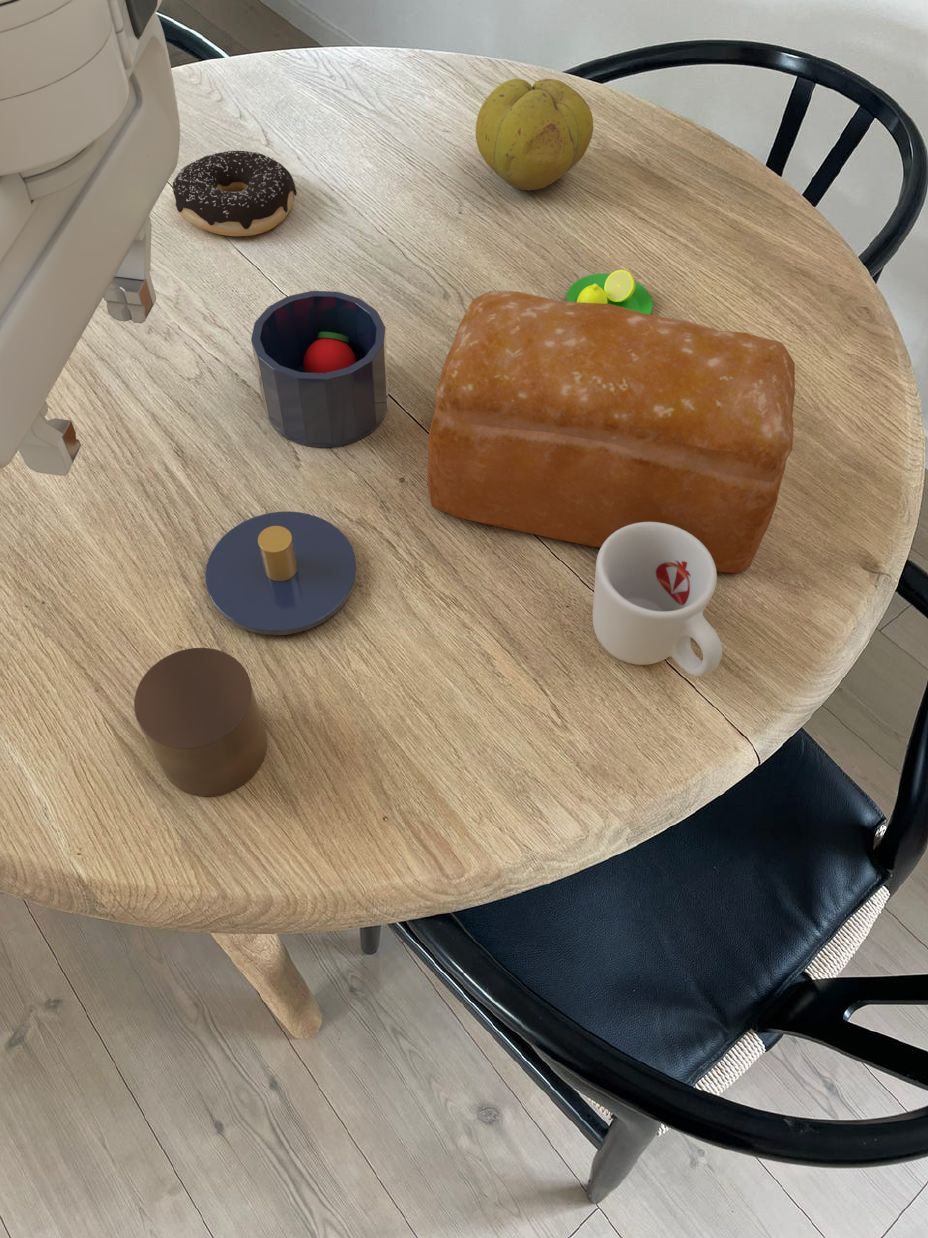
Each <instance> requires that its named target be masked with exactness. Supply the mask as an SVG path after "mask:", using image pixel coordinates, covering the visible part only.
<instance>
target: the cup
mask: <svg viewBox="0 0 928 1238" xmlns="http://www.w3.org/2000/svg"><path fill="white" fill-rule="evenodd" d="M599 548H600V549H599V551H598V553H597V556H596V557H597V558H596V562H595V575H594V587H593V588H594V590H593V603H592V625H593V630H594V633H595V636H596V639H597V640H598V642H599V643H600V645H601V646H602V647H603V649H604V650H606V652H607V653H608V654H610V655H611V656H613V657H614V658H616V659H618V660H619V661H621V662H624V663H627V664H632V665H638V666H647V665H653V664H657V663H659V662H663V661H665V660H666V659H668V658H672V659H673V660H674V661H675V662H676V663H677V664H678V666H679V667H680V668H681V669H682V670H683V671H684V672H686V673H687V674H688V675H690V676H691V677H695V678H702V677H705V676H707V675H710V673H712V672H713V671H715V669H716V668H718V666H719V664H720V663H721V661H722V659H723V644H722V641H721V638H720V637H719V635H718V633H717V632H716V630H715V629H714V628H713V626H712V625H711V624H710V622H709V621H708V620H707V619H706V617H705V616H704V610H705V609H706V608H707V605H708V604H709V602H710V601H711V599H712V597H713V595H714V593H715V590H716V588H717V580H718V573H717V572H718V571H716V567H715V563H714V560H713V558H712V556H711V554H710V553H709V551H708V550H707V548H706V547H705V546H704V545H703V544H702V543H701V542H700V541H699V540H698V539H697V538H696V537H694V536H693V535H691V534H690V533H688V532H686V531H685V530H683V529H680V528H678V527H676V526H673V525H669V524H665V523H659V522H640V523H635V524H631V525H628V526H625V527H623V528H621V529H619V530H617V531H616V532H614V533H613V534H612V535H610V536H609V537H608V538H607V539H606V541H605V542H604V543H603V545H602V547H599ZM691 639H693V640H694V641H695V642H696V644H697V645H698V646H699V648H700V651H701V653H702V660H701V659H700V658H699V657H698V656H697V655H696V653H695V652H694V650H693V649H692V645H691Z"/></svg>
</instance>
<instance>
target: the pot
mask: <svg viewBox="0 0 928 1238" xmlns="http://www.w3.org/2000/svg"><path fill="white" fill-rule="evenodd" d="M386 331H387V328H386V326H385V323H384V322H383V320H382V318H381V315H380V313H379V312H378V311H377V309H375V308H374V307H372V306H371V305H369V304H368V303H367V302H366V301H364V300H363V299H361V298H360V297H356V296H353V295H350V294H348V293H344V292H340V291H332V290H331V291H330V290H328V291H327V290H310V291H305V292H300V293H297V294H296V293H295V294H291V295H289V296H286V297H283V298H282V299H280V300H278V301H276V302H274V303H273V304H270V305H269V306H268V307H266V308H265V310H264V311H263V312H262V313H261V314H260V316H259V317H258V318H257V319H256V320H255V321H254V324H253V328H252V334H251V338H250V342H251V348H252V352H253V356H254V358H253V359H254V364H255V368H256V373H257V379H258V384H259V389H260V395H261V401H262V405H263V408H264V411H265V415H266V418H267V419H268V422H269V423H270V425H271V426H272V428H273V429H274V430H275V431H276V432H277V433H278V434H279V435H281V436H282V437H283V438H285V439H287V440H288V441H291V442H293V443H295V444H298V445H301V446H304V447H311V448H317V449H329V448H330V449H331V448H337V447H343V446H347V445H350V444H353V443H356V442H358V441H361V440H362V439H364V438H366V437H367V436H370V434H371V433H373V432H374V431H375V430H376V429H377V428H378V427H379V426H380V425H381V424H382V423H383V420H384V419H385V417H386V414H387V412H388V407H389V375H388V373H389V372H388V353H387V350H388V349H387V332H386ZM319 332H331V333H337V334H341V335H344V336H347V337H348V338H349V344H348V346H349V347H350V348H351V350H352V351H353V353H354V355H355V358H356V363H354V364H353V365H351V366H349V367H348V368H344V369H340V370H335V371H331V372H327V373H306V372H305V370H304V356H305V353H306V351H307V349H308V348H309V347H310V345H311V344H312V343H314V342H315V341H317V340H318V333H319Z"/></svg>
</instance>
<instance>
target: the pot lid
mask: <svg viewBox="0 0 928 1238" xmlns="http://www.w3.org/2000/svg"><path fill="white" fill-rule="evenodd" d="M204 575H205V577H204V578H205V585H206V590H207V593H208V596H209V598H210V602H211V603H212V604H213V606H214V608H215V609H216V610H217V612H218V613H219V614H220V615H221V616H222V617H223V618H224V619H225V620H226V621H228V622H230V623H231V624H233V625H234V626H236V627H237V628H240V629H242V630H245V631H248V632H251V633H253V634H254V633H255V634H260V635H266V636H285V635H292V634H297V633H301V632H304V631H307V630H310V629H313V628H314V627H316V626H320V625H321V624H323V623H325V622H326V621H328V620H329V619H330V618H332V617H333V616H334V615H335V614H336V613H338V612H339V611H340V610H341V608H343V606H344V605H345V603H346V602H347V601H348V600H349V598H350V596H351V594H352V592H353V589H354V587H355V583H356V579H357V560H356V555H355V552H354V549H353V547H352V544H351V543H350V541H349V539H348V538H347V537H346V535H345V534H344V533H343V532H342V531H341V530H340V529H339V528H338V527H336V526H335V525H334V524H332V523H330V522H329V521H327V520H325V519H323V518H321V517H320V516H316V515H313V514H310V513H305V512H301V511H275V512H268V513H264V514H260V515H256V516H254V517H251V518H249V519H246V520H244V521H242V522H241V523H239V524H237V525H235V526H234V527H232V528H231V529H230V530H229V531H227V532H226V533H225V534H224V535H223V536H221V538H220V539H219V540H218V542H217V543H216V544H215V546H214V547H213V549H212V551H211V553H210V555H209V557H208V559H207V562H206V567H205V574H204Z"/></svg>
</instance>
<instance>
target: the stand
mask: <svg viewBox="0 0 928 1238" xmlns="http://www.w3.org/2000/svg"><path fill="white" fill-rule="evenodd" d="M133 711H134V717H135V719H136V722H137V724H138V726H139V728H140V729H141V732H142V733H143V735H144V737H145V739H146V741H147V743H148V745H149V746H150V749H151V750H152V752H153V754H154V756H155V759H157V761H158V763H159V765H160V767H161V769H162V771H163V773H164V775H165V777H166V778H167V779H168V780H169V782H170V783H171V784H172V785H173V786H175V788H177V789H179V790H180V791H182V792H184V793H186V794H189V795H192V796H196V797H205V798H206V797H217V796H222V795H225V794H229V793H231V792H234V791H236V790H237V789H239V788H241V787H243V786H244V785H246V784H247V783H249V781H250V780H251V779H252V778H253V777H254V776H255V775H256V774H257V773H258V771H259V770H260V768H261V767H262V764H263V763H264V760H265V757H266V755H267V750H268V737H267V732H266V728H265V724H264V722H263V718H262V715H261V711H260V709H259V705H258V702H257V699H256V696H255V692H254V688H253V685H252V682H251V679H250V676H249V673H248V672H247V670H246V669H245V667H244V666H243V665H242V663H241V662H240V661H239V660H237V658H235V657H234V656H232V655H231V654H228V653H227V652H224V651H223V650H219V649H215V648H210V647H191V648H186V649H181V650H178V651H176V652H173V653H171V654H168V655H167V656H164V657H163V658H161V659H160V660H158V661H157V662H156V663H155V664H153V665H152V666H151V667H150V668H149V669H148V670H147V672H146V673H144V676H143V677H142V678H141V680H140V681H139V684H138V685H137V688H136V691H135V694H134V700H133Z"/></svg>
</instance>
